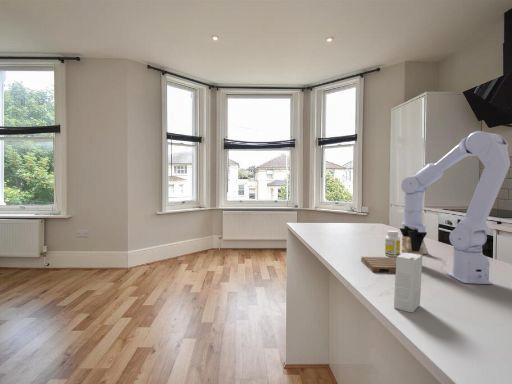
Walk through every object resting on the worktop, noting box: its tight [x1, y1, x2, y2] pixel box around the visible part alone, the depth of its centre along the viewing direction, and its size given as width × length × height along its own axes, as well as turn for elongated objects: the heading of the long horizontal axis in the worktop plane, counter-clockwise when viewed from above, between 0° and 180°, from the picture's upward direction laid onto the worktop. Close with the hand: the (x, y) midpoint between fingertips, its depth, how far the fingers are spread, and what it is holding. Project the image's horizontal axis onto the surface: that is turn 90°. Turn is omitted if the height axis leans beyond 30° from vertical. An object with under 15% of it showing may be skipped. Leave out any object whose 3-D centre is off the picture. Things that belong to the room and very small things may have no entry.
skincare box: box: [393, 253, 423, 313], centre depth 71 cm, size 6×4×12 cm
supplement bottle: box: [384, 230, 401, 258], centre depth 123 cm, size 5×5×10 cm
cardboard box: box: [401, 235, 424, 257], centre depth 110 cm, size 5×5×6 cm
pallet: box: [360, 256, 397, 274], centre depth 106 cm, size 14×12×2 cm
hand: (412, 249), depth 110 cm, fingers closed on cardboard box, 5 cm apart
